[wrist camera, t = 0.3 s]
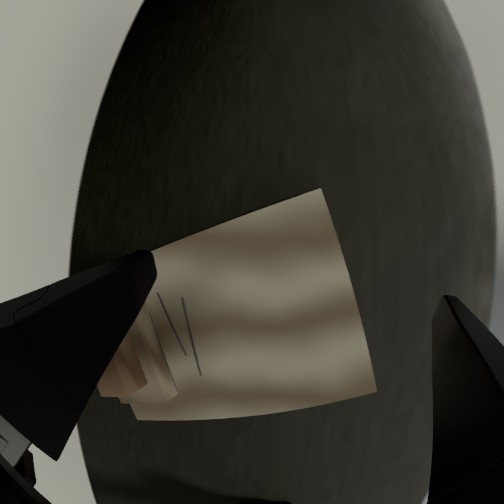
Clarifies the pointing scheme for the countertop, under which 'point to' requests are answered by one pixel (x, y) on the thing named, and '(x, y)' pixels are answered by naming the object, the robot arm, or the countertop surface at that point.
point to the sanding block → (138, 367)
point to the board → (258, 317)
